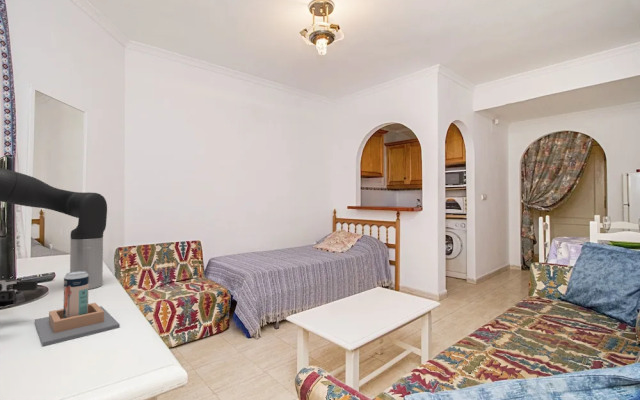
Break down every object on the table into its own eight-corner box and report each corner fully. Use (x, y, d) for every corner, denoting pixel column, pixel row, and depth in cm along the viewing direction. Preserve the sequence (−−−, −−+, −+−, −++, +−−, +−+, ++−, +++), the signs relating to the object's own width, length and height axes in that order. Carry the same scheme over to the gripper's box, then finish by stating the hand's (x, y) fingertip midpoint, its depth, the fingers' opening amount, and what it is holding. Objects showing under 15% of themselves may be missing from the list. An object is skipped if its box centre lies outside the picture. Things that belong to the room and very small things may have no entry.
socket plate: (34, 322, 78) (34, 309, 78) (101, 309, 88) (101, 297, 88) (42, 346, 66) (42, 330, 66) (119, 327, 76) (119, 313, 76)
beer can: (67, 319, 78) (68, 271, 78) (90, 317, 80) (91, 270, 80) (59, 326, 74) (60, 275, 74) (84, 323, 76) (85, 274, 76)
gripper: (-95, 286, 63) (6, 281, 67) (-37, 271, 76) (43, 267, 81) (-96, 324, 62) (5, 316, 67) (-38, 301, 76) (43, 296, 81)
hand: (26, 290), depth 74 cm, fingers open, 8 cm apart
